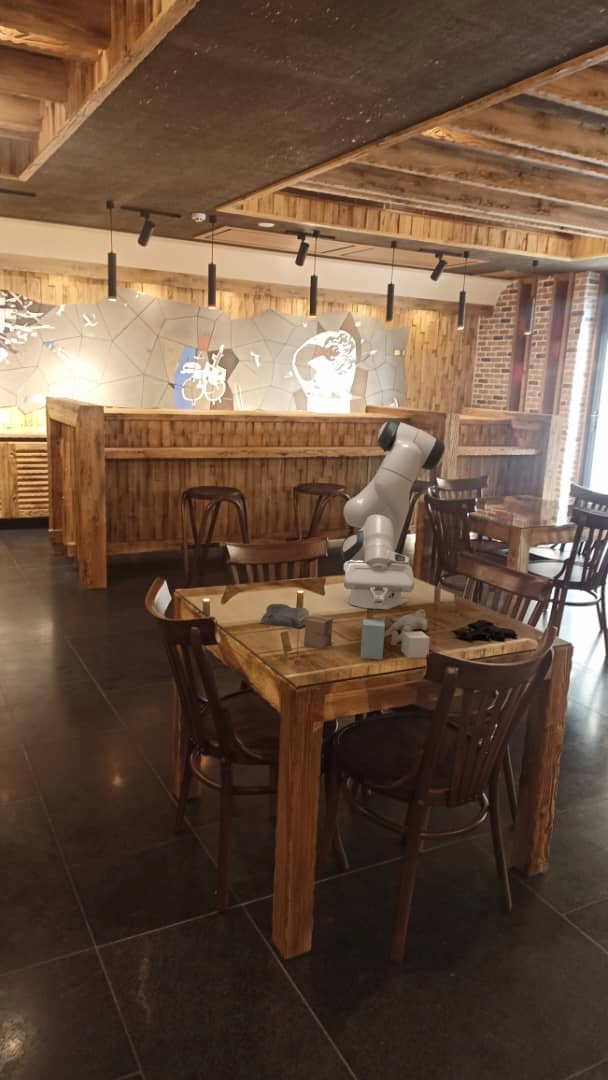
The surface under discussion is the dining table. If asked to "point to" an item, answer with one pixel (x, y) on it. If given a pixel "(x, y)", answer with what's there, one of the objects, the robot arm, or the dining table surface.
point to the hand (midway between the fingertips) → (378, 602)
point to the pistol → (485, 631)
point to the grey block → (415, 644)
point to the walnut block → (318, 631)
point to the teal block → (372, 638)
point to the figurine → (406, 625)
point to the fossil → (284, 616)
